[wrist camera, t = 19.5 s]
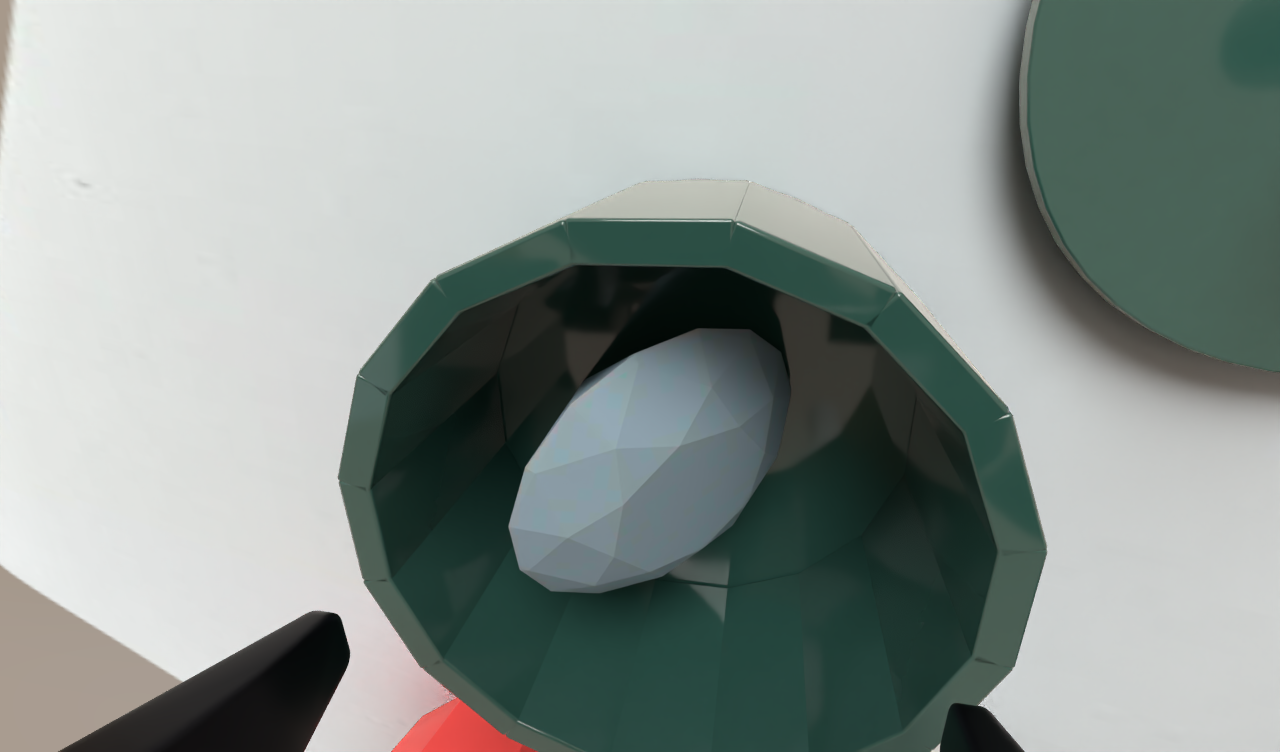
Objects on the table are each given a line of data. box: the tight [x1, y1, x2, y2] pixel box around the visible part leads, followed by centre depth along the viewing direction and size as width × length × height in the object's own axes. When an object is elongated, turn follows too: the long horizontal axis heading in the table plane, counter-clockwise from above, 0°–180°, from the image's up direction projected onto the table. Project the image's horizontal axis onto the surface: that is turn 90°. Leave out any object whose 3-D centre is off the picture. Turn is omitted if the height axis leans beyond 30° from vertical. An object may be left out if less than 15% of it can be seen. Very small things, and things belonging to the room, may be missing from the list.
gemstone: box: [509, 328, 791, 593], centre depth 15 cm, size 8×8×5 cm
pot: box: [338, 179, 1047, 752], centre depth 14 cm, size 12×12×6 cm
